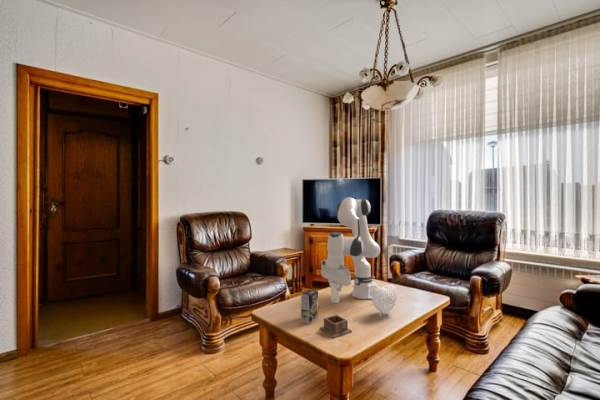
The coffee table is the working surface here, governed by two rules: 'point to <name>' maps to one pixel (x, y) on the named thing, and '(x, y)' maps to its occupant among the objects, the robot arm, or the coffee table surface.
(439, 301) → the coffee table surface
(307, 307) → the coffee box
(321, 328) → the walnut roll holder
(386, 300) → the decorative heart
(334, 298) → the paper roll
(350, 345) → the coffee table surface
